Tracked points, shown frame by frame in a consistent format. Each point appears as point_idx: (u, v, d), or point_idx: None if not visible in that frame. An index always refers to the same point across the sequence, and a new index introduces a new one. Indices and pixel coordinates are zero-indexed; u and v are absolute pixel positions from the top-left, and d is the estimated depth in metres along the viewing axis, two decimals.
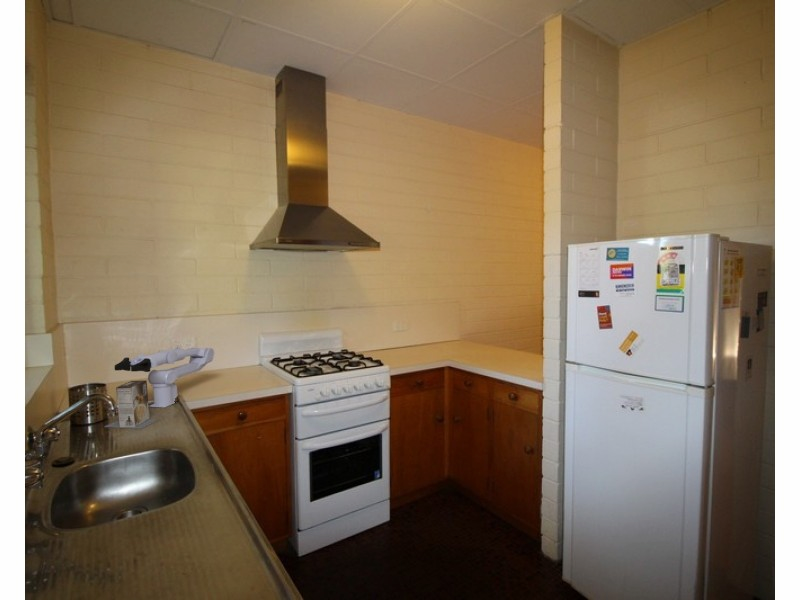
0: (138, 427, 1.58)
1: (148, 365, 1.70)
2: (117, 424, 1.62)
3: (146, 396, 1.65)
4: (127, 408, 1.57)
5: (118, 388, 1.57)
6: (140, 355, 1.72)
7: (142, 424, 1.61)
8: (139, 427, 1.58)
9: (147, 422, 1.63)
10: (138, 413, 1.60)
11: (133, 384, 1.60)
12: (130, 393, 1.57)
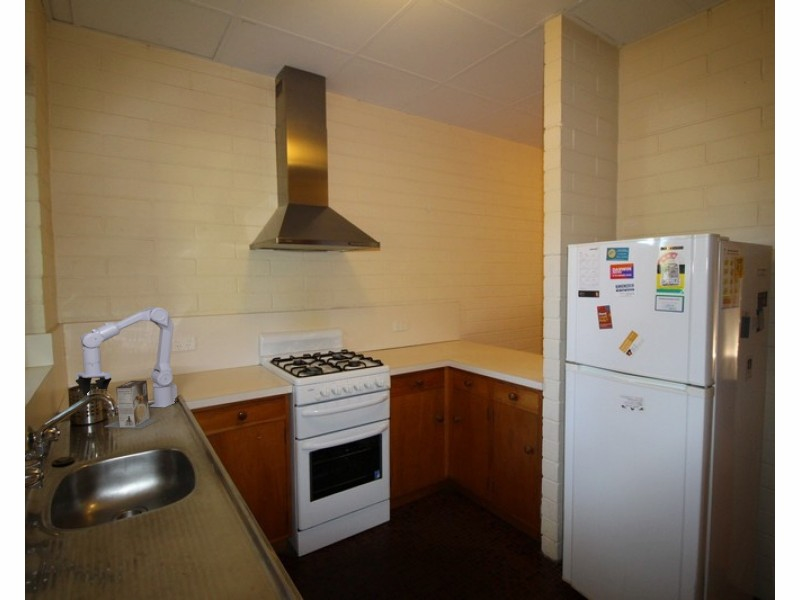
0: (138, 427, 1.58)
1: (105, 380, 1.64)
2: (117, 424, 1.62)
3: (146, 396, 1.65)
4: (127, 408, 1.57)
5: (118, 388, 1.57)
6: (85, 377, 1.62)
7: (142, 424, 1.61)
8: (139, 427, 1.58)
9: (147, 422, 1.63)
10: (138, 413, 1.60)
11: (133, 384, 1.60)
12: (130, 393, 1.57)
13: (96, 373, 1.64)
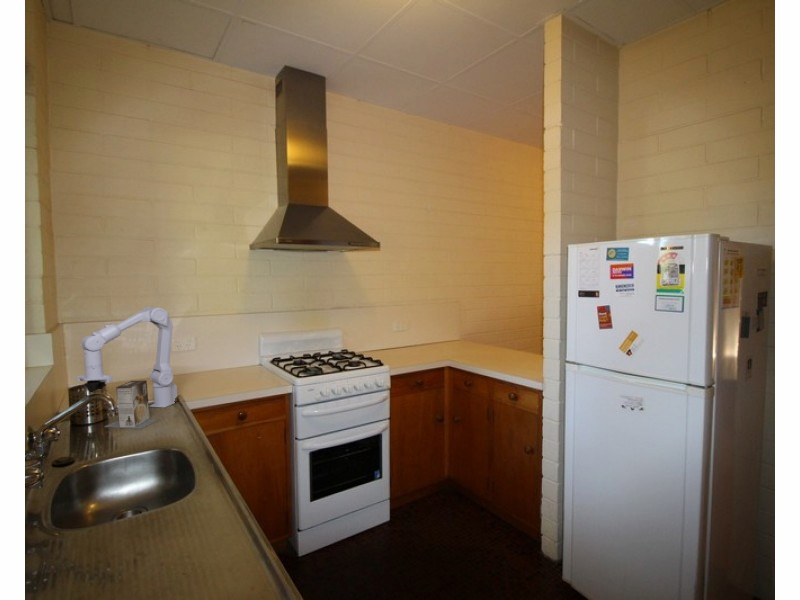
0: (138, 427, 1.58)
1: (99, 383, 1.64)
2: (117, 424, 1.62)
3: (146, 396, 1.65)
4: (127, 408, 1.57)
5: (118, 388, 1.57)
6: (86, 380, 1.60)
7: (142, 424, 1.61)
8: (139, 427, 1.58)
9: (147, 422, 1.63)
10: (138, 413, 1.60)
11: (133, 384, 1.60)
12: (130, 393, 1.57)
13: (97, 376, 1.62)
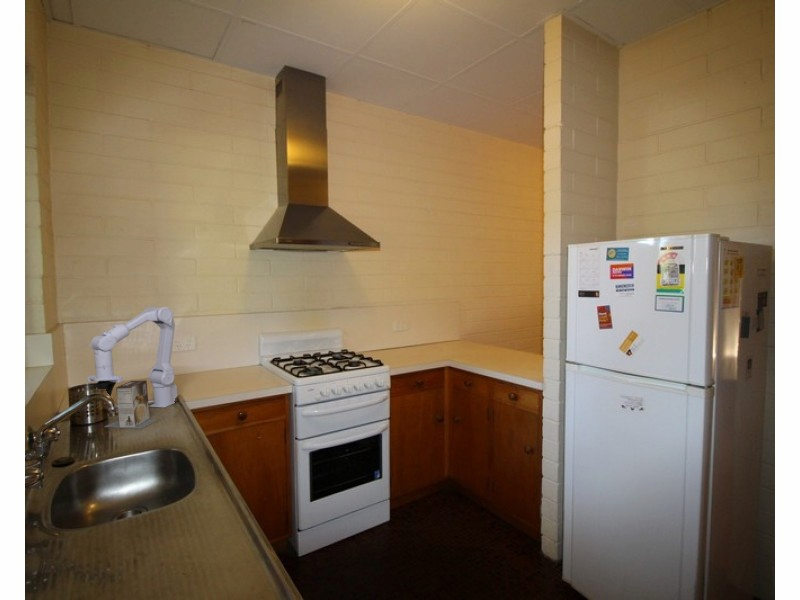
0: (138, 427, 1.58)
1: (110, 383, 1.63)
2: (117, 424, 1.62)
3: (146, 396, 1.65)
4: (127, 408, 1.57)
5: (118, 388, 1.57)
6: (97, 380, 1.60)
7: (142, 424, 1.61)
8: (139, 427, 1.58)
9: (147, 422, 1.63)
10: (138, 413, 1.60)
11: (133, 384, 1.60)
12: (130, 393, 1.57)
13: (108, 377, 1.62)
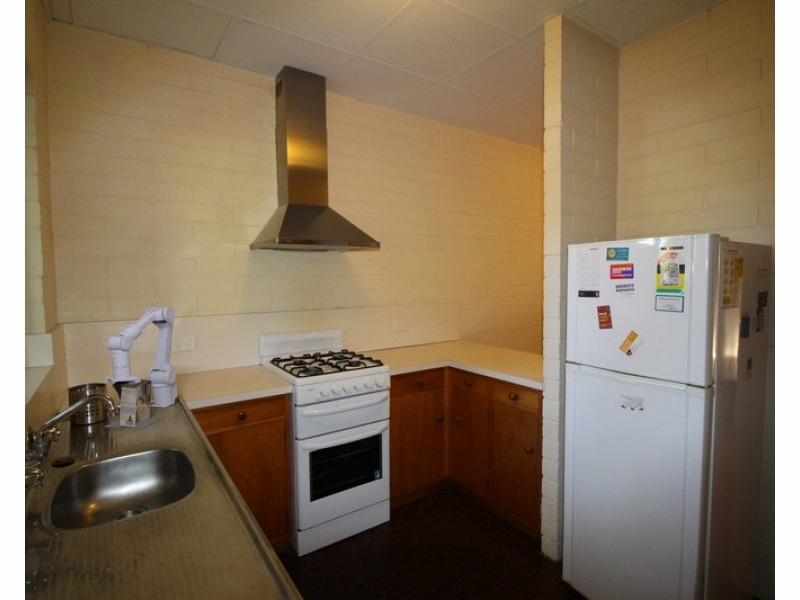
0: (138, 427, 1.58)
1: None
2: (117, 424, 1.62)
3: (149, 396, 1.65)
4: (129, 407, 1.57)
5: (123, 387, 1.57)
6: None
7: (142, 424, 1.61)
8: (139, 427, 1.58)
9: (147, 422, 1.63)
10: (140, 413, 1.60)
11: (138, 384, 1.60)
12: (134, 393, 1.57)
13: (126, 377, 1.60)
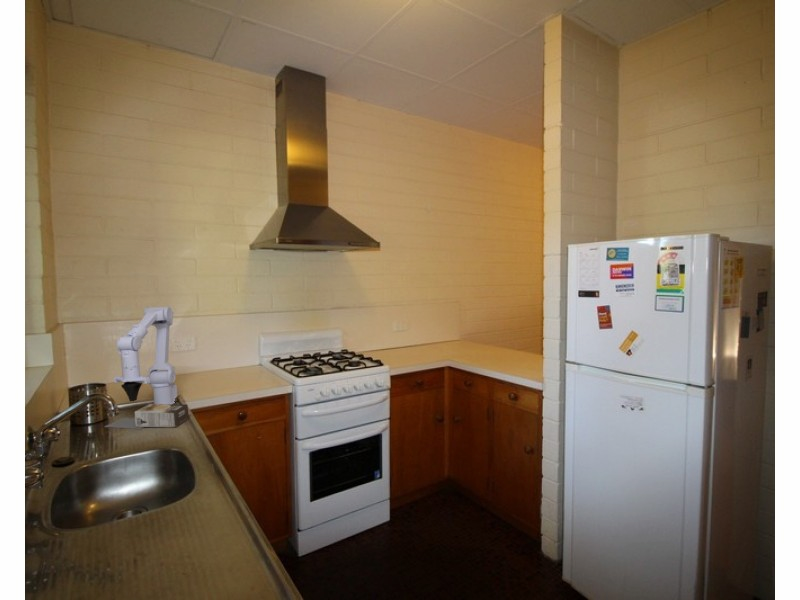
0: (138, 427, 1.58)
1: (136, 384, 1.61)
2: (117, 424, 1.62)
3: None
4: (154, 420, 1.57)
5: (174, 414, 1.57)
6: (124, 381, 1.58)
7: None
8: (139, 427, 1.58)
9: None
10: None
11: (180, 420, 1.61)
12: (169, 425, 1.58)
13: (135, 378, 1.59)
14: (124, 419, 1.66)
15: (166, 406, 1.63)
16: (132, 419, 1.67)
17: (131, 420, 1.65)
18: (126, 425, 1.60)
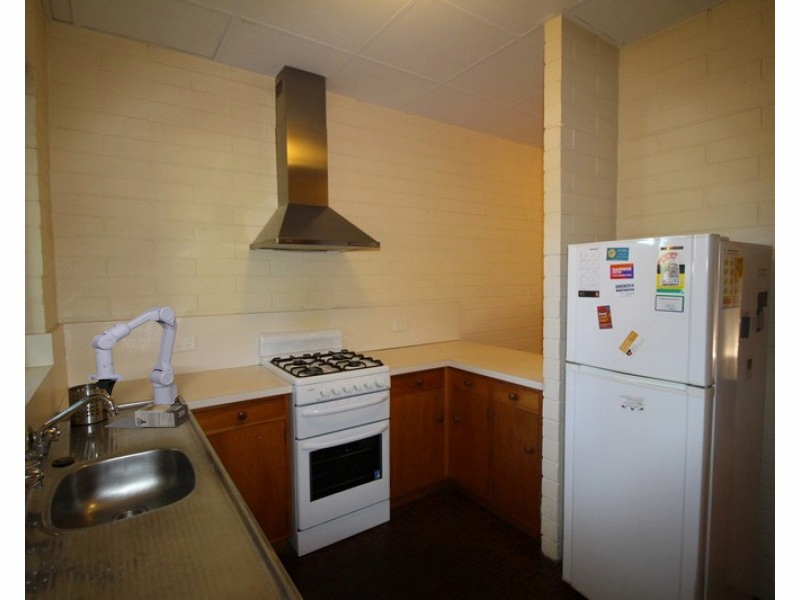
0: (138, 427, 1.58)
1: (110, 382, 1.65)
2: (117, 424, 1.62)
3: None
4: (154, 420, 1.57)
5: (174, 414, 1.57)
6: None
7: None
8: (139, 427, 1.58)
9: None
10: None
11: (180, 420, 1.61)
12: (169, 425, 1.58)
13: (109, 375, 1.63)
14: (124, 419, 1.66)
15: (166, 406, 1.63)
16: (132, 419, 1.67)
17: (131, 420, 1.65)
18: (126, 425, 1.60)
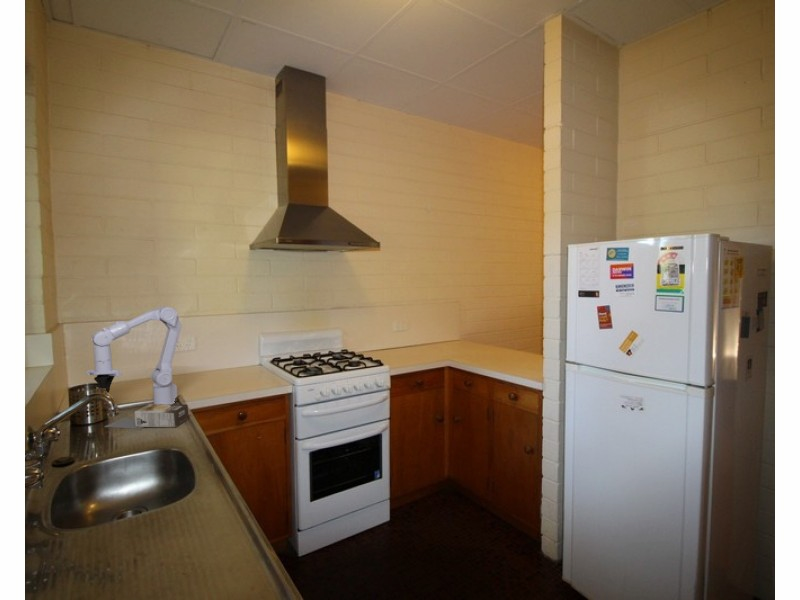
0: (138, 427, 1.58)
1: (109, 377, 1.69)
2: (117, 424, 1.62)
3: None
4: (154, 420, 1.57)
5: (174, 414, 1.57)
6: (96, 374, 1.65)
7: None
8: (139, 427, 1.58)
9: None
10: None
11: (180, 420, 1.61)
12: (169, 425, 1.58)
13: (107, 371, 1.67)
14: (124, 419, 1.66)
15: (166, 406, 1.63)
16: (132, 419, 1.67)
17: (131, 420, 1.65)
18: (126, 425, 1.60)
